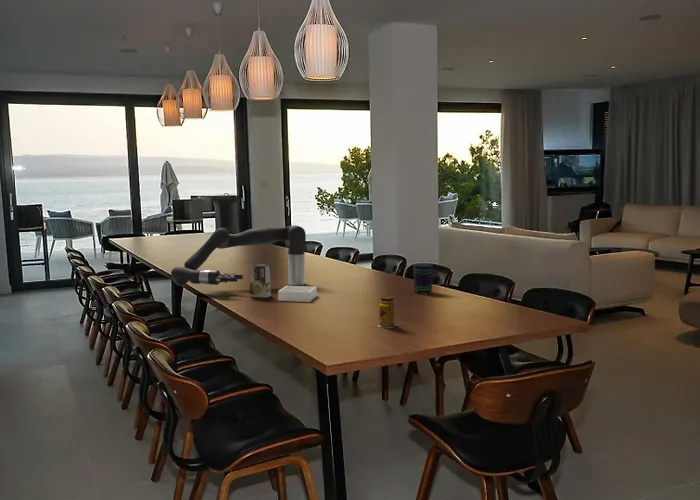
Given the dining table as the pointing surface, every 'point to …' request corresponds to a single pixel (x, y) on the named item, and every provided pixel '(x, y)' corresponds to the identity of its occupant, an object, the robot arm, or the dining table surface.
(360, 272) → the dining table surface
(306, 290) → the white square tray
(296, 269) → the robot arm
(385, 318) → the condiment
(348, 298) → the dining table surface
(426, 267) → the storage jar
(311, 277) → the dining table surface
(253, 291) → the coffee box
